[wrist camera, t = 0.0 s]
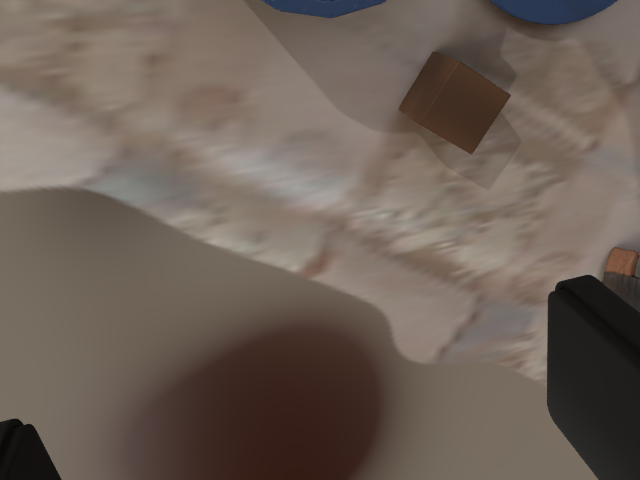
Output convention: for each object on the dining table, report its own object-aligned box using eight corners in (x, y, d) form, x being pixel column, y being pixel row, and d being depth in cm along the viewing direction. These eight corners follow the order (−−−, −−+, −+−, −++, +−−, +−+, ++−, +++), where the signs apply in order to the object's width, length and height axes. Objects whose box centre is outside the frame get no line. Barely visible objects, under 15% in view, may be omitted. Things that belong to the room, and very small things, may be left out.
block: (433, 51, 40) (458, 60, 36) (481, 82, 41) (511, 95, 38) (398, 108, 41) (418, 123, 37) (446, 137, 43) (471, 154, 39)
